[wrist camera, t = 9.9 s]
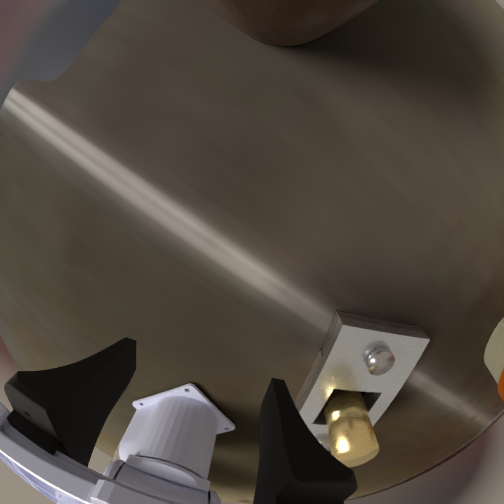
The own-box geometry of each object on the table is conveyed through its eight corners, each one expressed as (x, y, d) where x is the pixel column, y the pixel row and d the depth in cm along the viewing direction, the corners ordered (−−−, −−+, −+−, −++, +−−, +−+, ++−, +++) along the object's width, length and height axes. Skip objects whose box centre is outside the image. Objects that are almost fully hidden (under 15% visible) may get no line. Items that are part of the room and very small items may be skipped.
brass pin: (330, 412, 25) (341, 471, 17) (315, 392, 24) (325, 456, 16) (364, 397, 24) (383, 454, 16) (352, 375, 23) (372, 437, 16)
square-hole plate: (347, 438, 26) (351, 458, 23) (277, 433, 26) (277, 455, 23) (418, 326, 22) (434, 344, 18) (336, 310, 22) (345, 331, 18)
